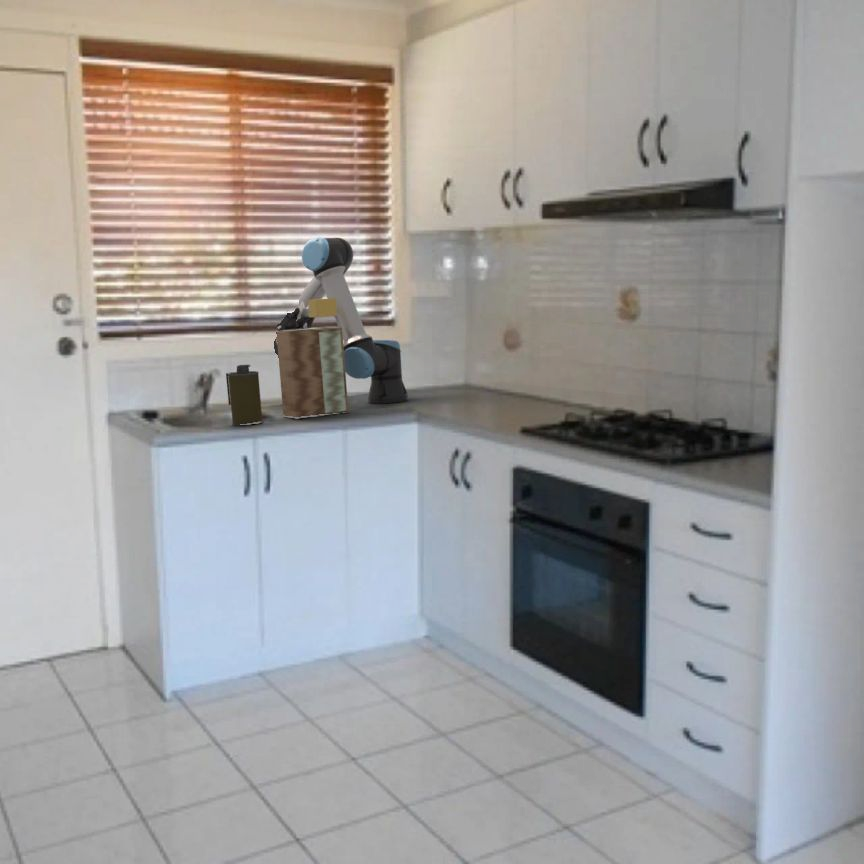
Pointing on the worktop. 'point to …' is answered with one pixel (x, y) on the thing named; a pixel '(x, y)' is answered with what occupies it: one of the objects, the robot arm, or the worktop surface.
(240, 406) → the canister
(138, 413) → the worktop surface
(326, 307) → the handle bar
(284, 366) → the wood grain box
